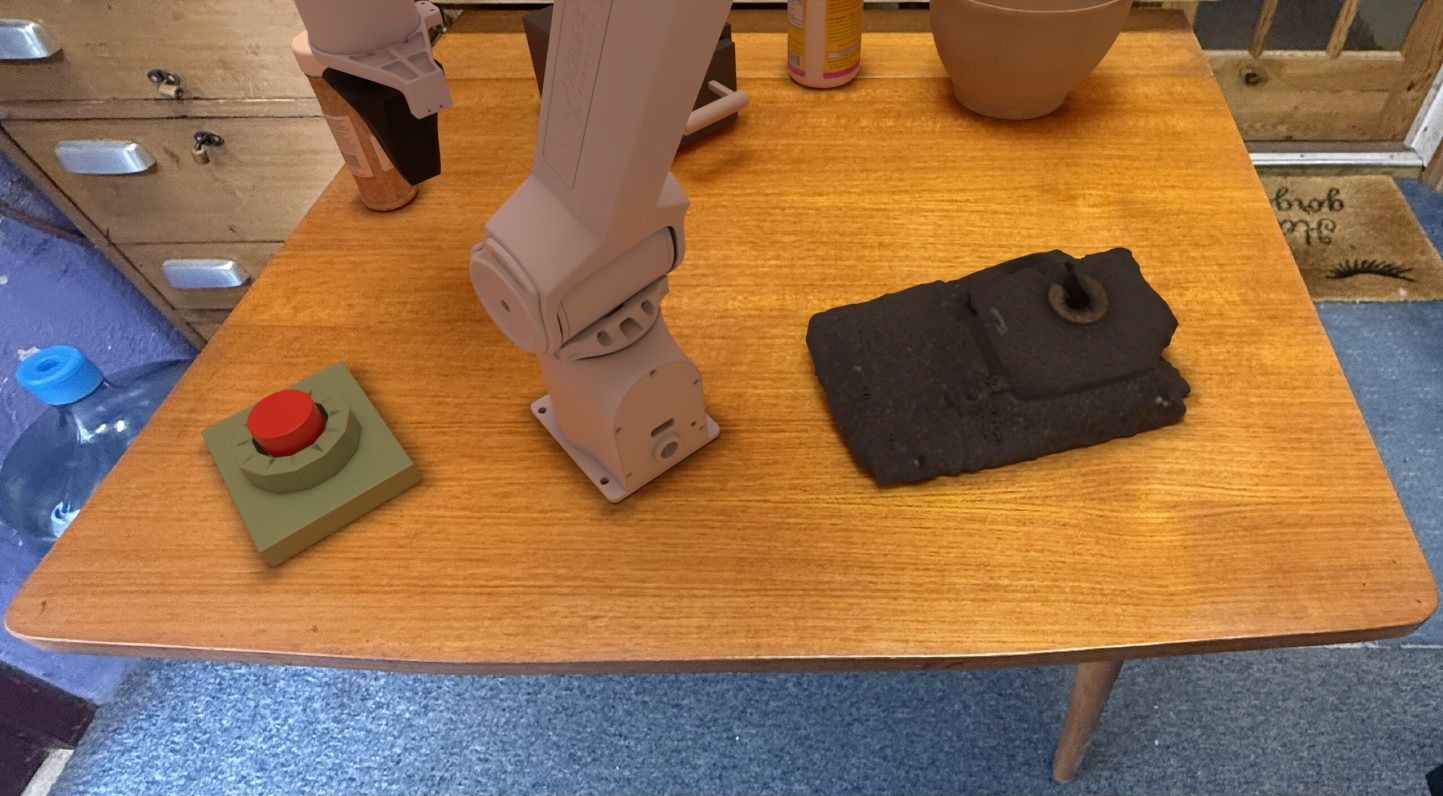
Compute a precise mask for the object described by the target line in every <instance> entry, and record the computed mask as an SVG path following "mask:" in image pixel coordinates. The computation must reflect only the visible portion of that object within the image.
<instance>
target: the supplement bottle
mask: <svg viewBox="0 0 1443 796" xmlns="http://www.w3.org/2000/svg"><path fill="white" fill-rule="evenodd" d="M864 4H865V0H787V17H786V18H787V19H786V20H787V22H786V23H787V24H786V25H787V29H786V31H787V39H786V40H787V49H786V50H787V70H788V73H789V76H790V77H791V78H792V79H793V80H794V81H795V82H797V83H799V84H800V85H803V86H807V87H811V88H816V89H817V88H819V89H829V88H835V87H839V86H843V85H846V84H848V83H849V82H850V81H851V80H853V79H854V78H855V77H856V76H857V75H858V73H859V70H860V65H861V64H860V63H861V50H862V35H863V21H864Z"/></svg>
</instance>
